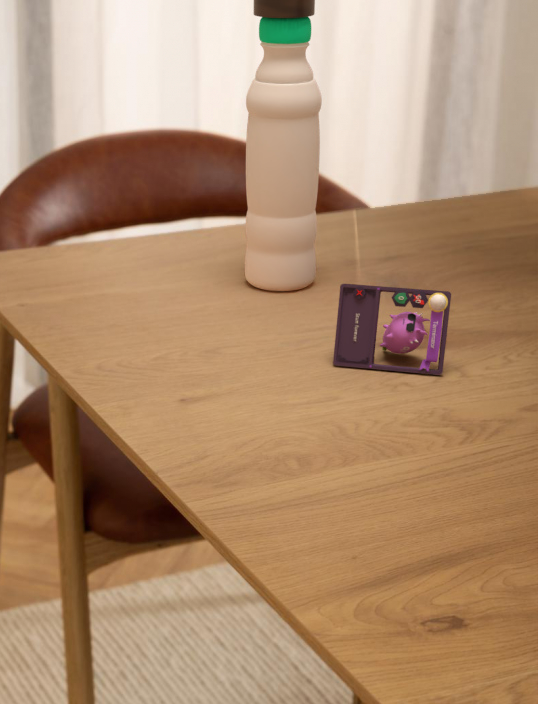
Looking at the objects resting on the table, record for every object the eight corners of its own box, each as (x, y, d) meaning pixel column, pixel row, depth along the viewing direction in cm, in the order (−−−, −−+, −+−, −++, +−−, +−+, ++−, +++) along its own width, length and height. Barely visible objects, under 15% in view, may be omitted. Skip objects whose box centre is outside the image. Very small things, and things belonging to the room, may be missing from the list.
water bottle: (246, 293, 115) (248, 19, 104) (242, 271, 121) (244, 10, 110) (319, 292, 115) (329, 18, 104) (311, 270, 122) (320, 10, 110)
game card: (339, 282, 97) (450, 291, 95) (347, 285, 102) (453, 293, 100) (331, 365, 98) (441, 375, 96) (340, 363, 103) (445, 373, 101)
